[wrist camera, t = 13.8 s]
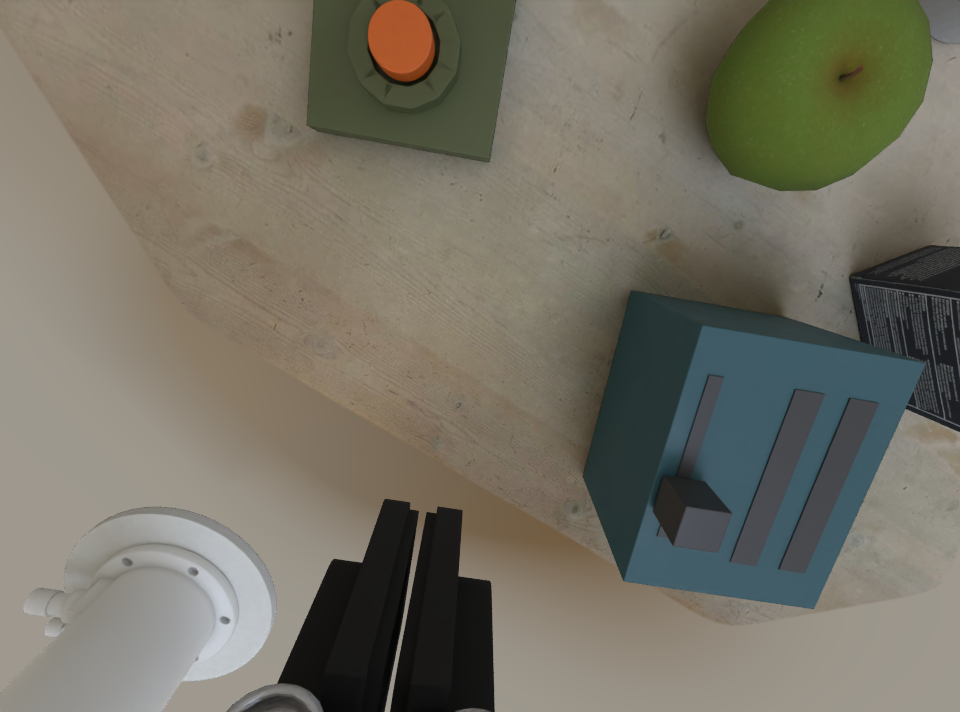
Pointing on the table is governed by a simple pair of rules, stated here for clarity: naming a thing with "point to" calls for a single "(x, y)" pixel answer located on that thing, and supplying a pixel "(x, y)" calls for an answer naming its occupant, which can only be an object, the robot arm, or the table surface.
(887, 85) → the apple
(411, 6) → the button
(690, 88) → the table surface
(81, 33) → the table surface
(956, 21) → the coffee cup
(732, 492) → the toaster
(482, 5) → the control block
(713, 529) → the slider
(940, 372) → the small box
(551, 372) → the table surface
